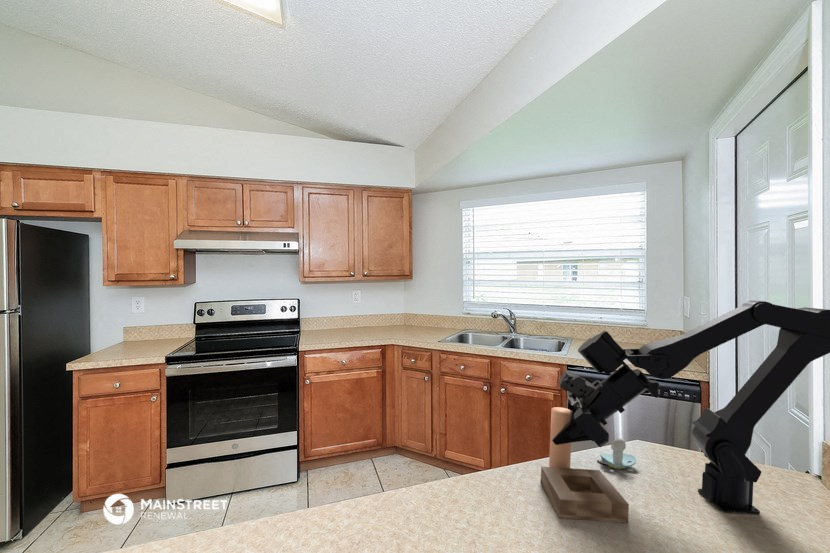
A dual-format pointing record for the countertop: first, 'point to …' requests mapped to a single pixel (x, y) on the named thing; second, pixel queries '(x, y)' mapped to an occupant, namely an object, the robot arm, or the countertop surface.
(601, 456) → the pacifier
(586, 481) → the socket block
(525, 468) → the countertop surface
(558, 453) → the peg
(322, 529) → the countertop surface
